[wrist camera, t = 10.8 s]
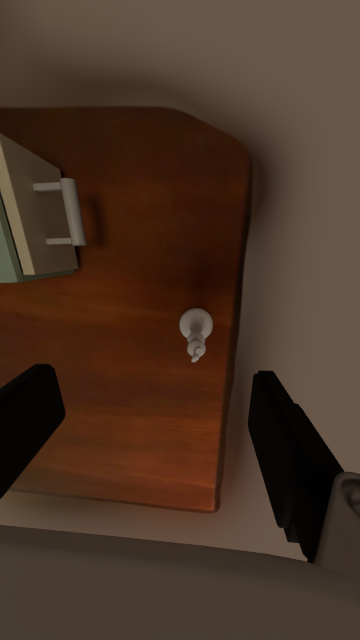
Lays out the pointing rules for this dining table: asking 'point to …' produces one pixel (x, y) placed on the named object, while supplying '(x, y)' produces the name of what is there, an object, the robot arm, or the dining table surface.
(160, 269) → the dining table surface
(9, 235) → the cabinet
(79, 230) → the drawer
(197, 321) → the chess piece
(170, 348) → the dining table surface
